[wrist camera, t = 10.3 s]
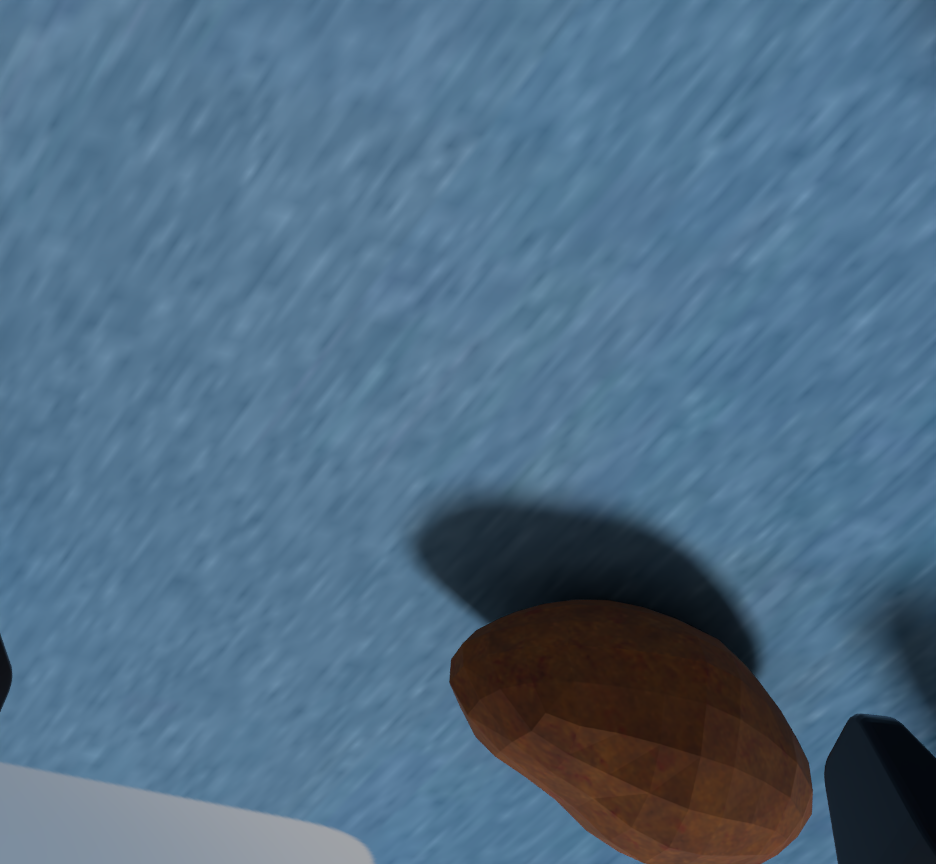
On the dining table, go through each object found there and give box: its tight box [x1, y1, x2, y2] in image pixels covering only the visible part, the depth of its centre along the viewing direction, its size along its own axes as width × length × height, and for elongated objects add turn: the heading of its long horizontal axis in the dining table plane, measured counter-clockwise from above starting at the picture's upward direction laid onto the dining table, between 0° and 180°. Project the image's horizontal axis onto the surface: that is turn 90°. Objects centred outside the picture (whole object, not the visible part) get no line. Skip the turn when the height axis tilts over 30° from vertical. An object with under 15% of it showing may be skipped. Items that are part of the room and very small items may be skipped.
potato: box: [449, 600, 813, 864], centre depth 22 cm, size 6×12×6 cm, turn 66°
